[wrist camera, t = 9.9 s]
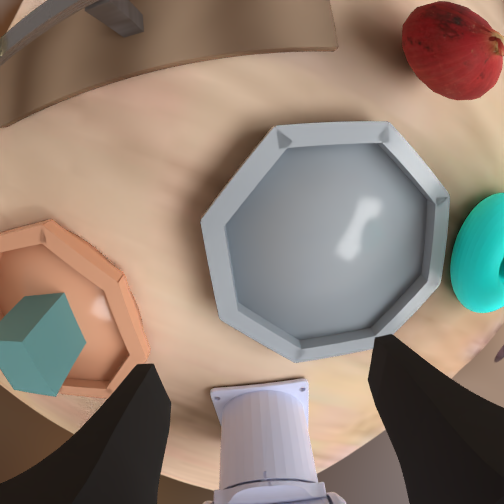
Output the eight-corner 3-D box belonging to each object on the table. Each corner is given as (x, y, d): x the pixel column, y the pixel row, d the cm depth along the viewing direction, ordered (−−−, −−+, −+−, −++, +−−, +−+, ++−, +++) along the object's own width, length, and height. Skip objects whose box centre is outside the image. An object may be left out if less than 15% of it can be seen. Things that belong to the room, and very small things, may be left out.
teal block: (86, 342, 20) (55, 396, 15) (46, 342, 20) (14, 389, 15) (64, 292, 19) (22, 341, 13) (24, 296, 19) (-18, 339, 13)
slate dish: (419, 321, 22) (429, 334, 20) (231, 353, 22) (231, 370, 20) (433, 123, 16) (449, 124, 14) (192, 137, 16) (186, 137, 14)
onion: (365, 60, 14) (440, 27, 7) (400, 4, 13) (472, -37, 5) (433, 118, 16) (522, 126, 8) (462, 61, 14) (544, 51, 7)
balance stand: (316, -29, 12) (344, -77, 6) (333, 51, 14) (373, 20, 9) (4, 54, 12) (-50, 47, 7) (7, 126, 15) (-52, 135, 9)
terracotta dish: (168, 384, 23) (165, 400, 21) (37, 377, 23) (30, 389, 22) (110, 204, 17) (98, 211, 16) (-27, 239, 18) (-40, 247, 16)
